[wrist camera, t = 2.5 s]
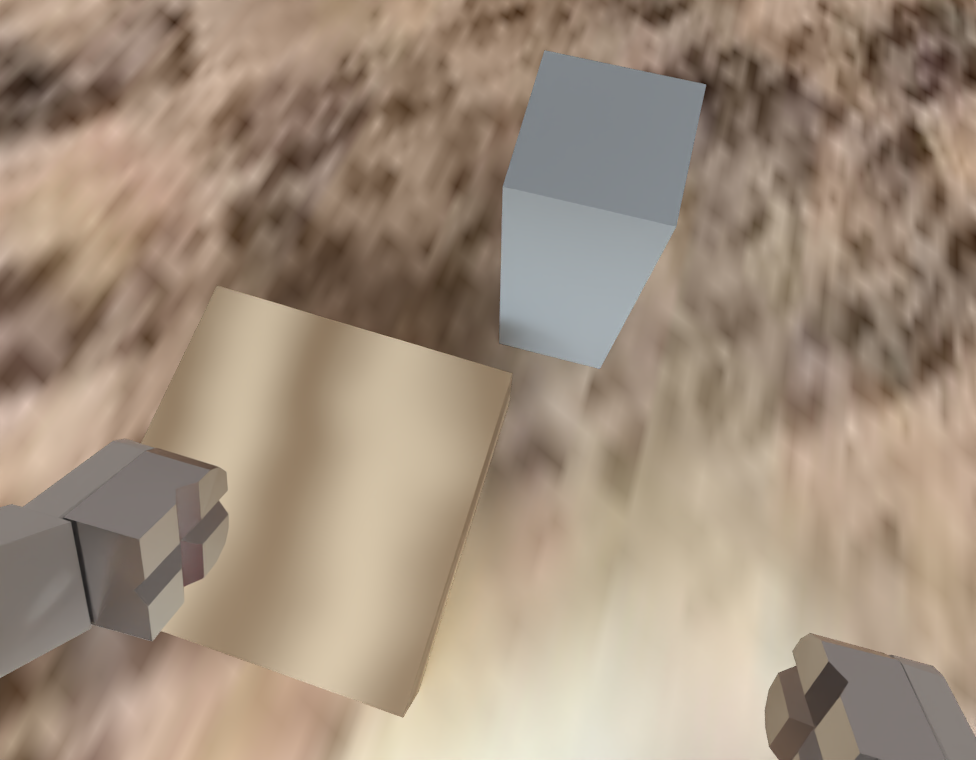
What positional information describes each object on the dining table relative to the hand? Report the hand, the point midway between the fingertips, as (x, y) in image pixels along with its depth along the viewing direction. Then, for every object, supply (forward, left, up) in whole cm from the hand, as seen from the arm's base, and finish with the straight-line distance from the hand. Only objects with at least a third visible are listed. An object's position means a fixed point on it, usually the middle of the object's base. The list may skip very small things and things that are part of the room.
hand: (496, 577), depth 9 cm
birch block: (+8, -1, -20) cm, 21 cm away
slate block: (0, -13, -19) cm, 23 cm away
